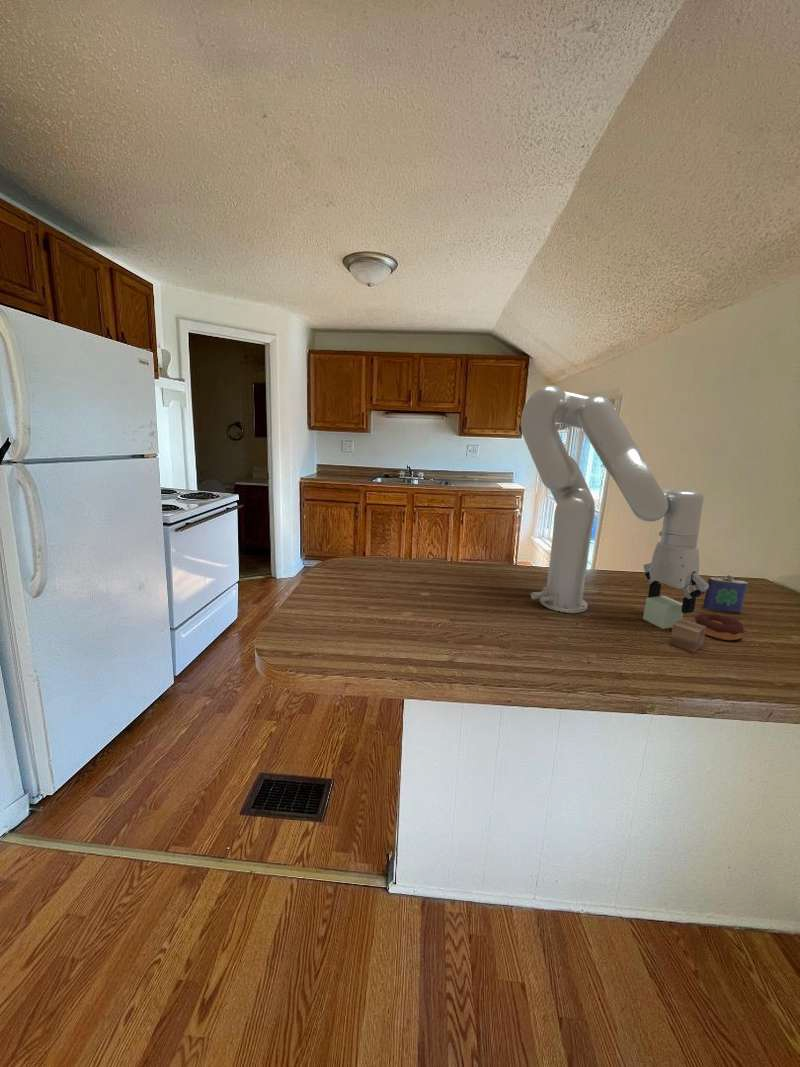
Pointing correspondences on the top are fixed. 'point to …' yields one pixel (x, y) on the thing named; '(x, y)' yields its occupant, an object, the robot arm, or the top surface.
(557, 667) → the top surface
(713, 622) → the donut
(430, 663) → the top surface
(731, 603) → the flask
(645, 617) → the sage block
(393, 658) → the top surface
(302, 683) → the top surface
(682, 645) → the walnut block
